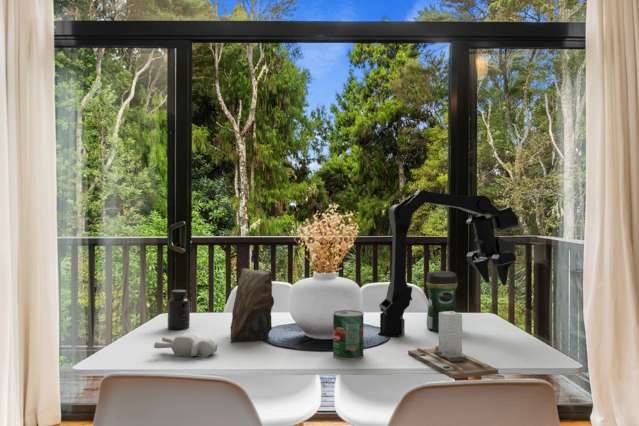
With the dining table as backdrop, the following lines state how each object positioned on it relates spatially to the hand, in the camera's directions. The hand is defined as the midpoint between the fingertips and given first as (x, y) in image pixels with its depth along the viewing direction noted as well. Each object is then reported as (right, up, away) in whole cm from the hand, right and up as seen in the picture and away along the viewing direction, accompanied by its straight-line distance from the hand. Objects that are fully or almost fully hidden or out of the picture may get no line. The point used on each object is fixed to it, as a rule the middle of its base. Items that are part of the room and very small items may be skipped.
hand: (495, 283), depth 160 cm
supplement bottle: (-100, -15, +3) cm, 101 cm away
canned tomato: (-48, -15, -28) cm, 57 cm away
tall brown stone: (-77, -15, -10) cm, 79 cm away
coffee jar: (-16, -15, +3) cm, 22 cm away
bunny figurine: (-89, -15, -28) cm, 95 cm away
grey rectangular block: (-24, -13, -35) cm, 45 cm away
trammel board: (-23, -15, -35) cm, 44 cm away
